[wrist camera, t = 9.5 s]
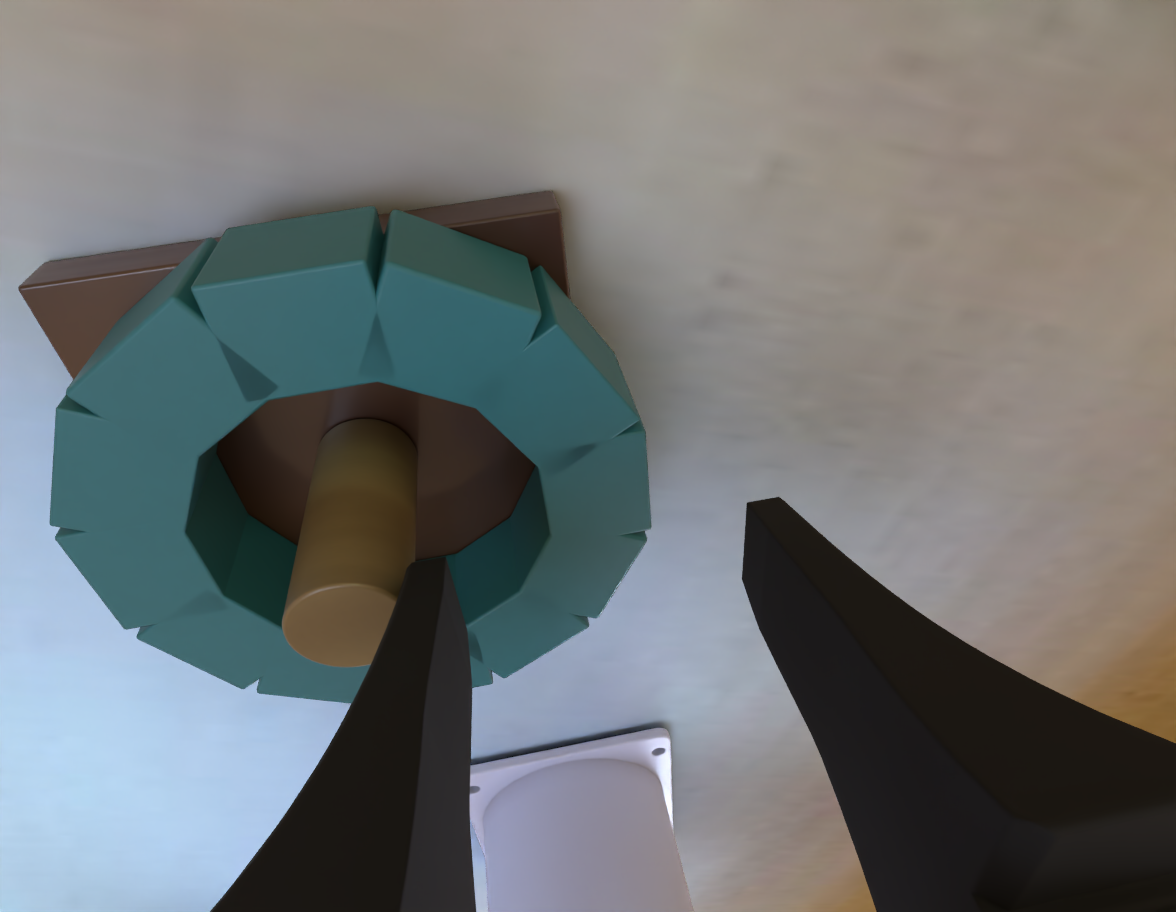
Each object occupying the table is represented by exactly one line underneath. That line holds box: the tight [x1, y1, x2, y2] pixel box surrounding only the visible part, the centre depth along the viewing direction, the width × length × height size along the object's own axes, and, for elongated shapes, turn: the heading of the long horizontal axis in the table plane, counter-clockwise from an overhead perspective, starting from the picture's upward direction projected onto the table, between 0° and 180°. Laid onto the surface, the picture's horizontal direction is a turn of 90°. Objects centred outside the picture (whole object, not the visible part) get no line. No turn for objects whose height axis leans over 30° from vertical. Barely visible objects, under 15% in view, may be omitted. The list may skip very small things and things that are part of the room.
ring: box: [50, 206, 651, 704], centre depth 16 cm, size 11×11×3 cm
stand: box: [19, 191, 571, 667], centre depth 15 cm, size 10×10×6 cm
